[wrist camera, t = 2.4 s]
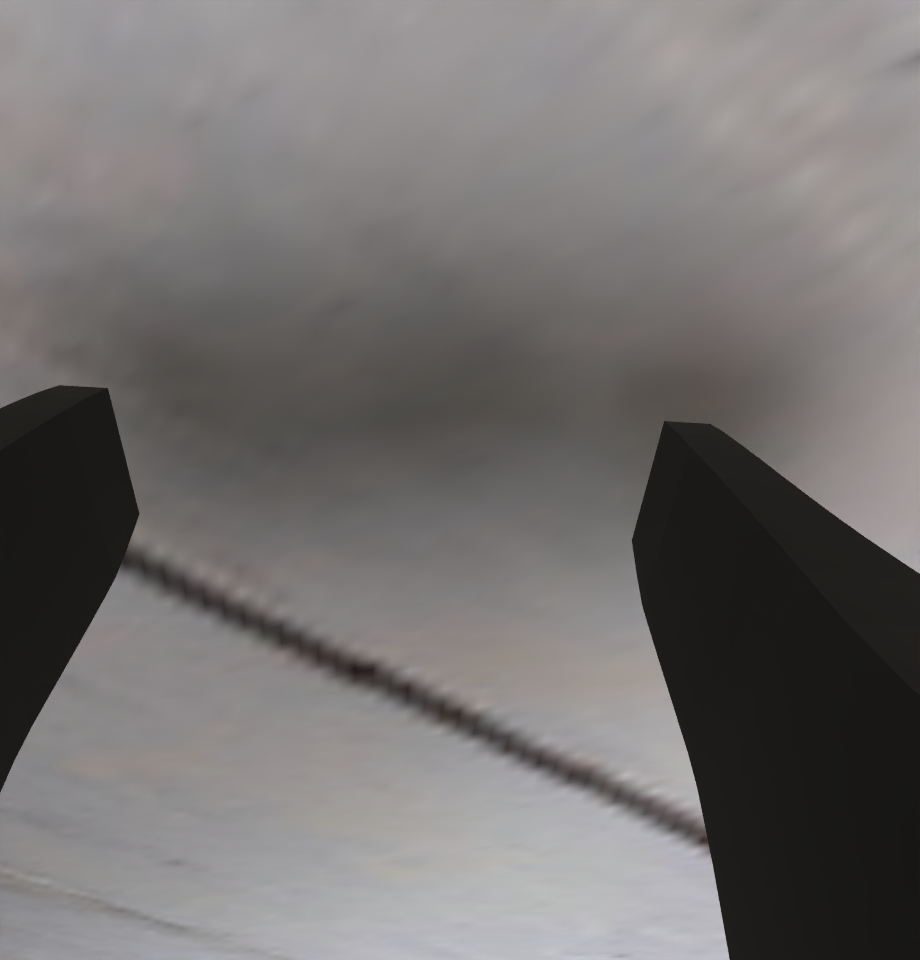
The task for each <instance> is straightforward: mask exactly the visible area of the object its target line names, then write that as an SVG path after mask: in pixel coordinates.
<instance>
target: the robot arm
mask: <svg viewBox="0 0 920 960" xmlns="http://www.w3.org/2000/svg"><path fill="white" fill-rule="evenodd" d="M138 516H139V511H138V507H137V503H136V499H135V495H134V491H133V487H132V483H131V479H130V475H129V471H128V467H127V463H126V459H125V455H124V451H123V447H122V443H121V439H120V435H119V431H118V427H117V423H116V419H115V415H114V411H113V407H112V403H111V399H110V395H109V391H108V388H95V387H78V386H61V385H59V386H56V387H53V388H50V389H47V390H44V391H41V392H38V393H36V394H33V395H31V396H28V397H26V398H23V399H21V400H18V401H16V402H14V403H11V404H9V405H7V406H5V407H2V408H0V792H1V790H2V787H3V785H4V783H5V781H6V778H7V776H8V774H9V771H10V769H11V767H12V765H13V762H14V760H15V758H16V756H17V754H18V752H19V750H20V748H21V746H22V745H23V743H24V741H25V739H26V737H27V735H28V733H29V731H30V729H31V727H32V725H33V723H34V722H35V720H36V718H37V716H38V714H39V713H40V711H41V709H42V707H43V706H44V704H45V702H46V700H47V699H48V697H49V695H50V693H51V692H52V690H53V688H54V686H55V685H56V683H57V681H58V679H59V678H60V676H61V674H62V672H63V671H64V669H65V667H66V665H67V664H68V662H69V660H70V658H71V657H72V655H73V653H74V651H75V650H76V648H77V646H78V644H79V643H80V641H81V639H82V637H83V636H84V634H85V632H86V630H87V628H88V627H89V625H90V623H91V621H92V619H93V618H94V616H95V614H96V612H97V610H98V609H99V607H100V605H101V603H102V602H103V600H104V598H105V596H106V594H107V592H108V591H109V589H110V587H111V585H112V583H113V581H114V579H115V577H116V575H117V572H118V570H119V567H120V565H121V562H122V560H123V557H124V555H125V552H126V550H127V547H128V544H129V542H130V539H131V536H132V533H133V530H134V528H135V525H136V522H137V519H138ZM632 544H633V551H634V558H635V565H636V572H637V578H638V584H639V589H640V595H641V601H642V606H643V609H644V612H645V616H646V619H647V623H648V626H649V629H650V633H651V636H652V639H653V642H654V646H655V649H656V652H657V655H658V659H659V662H660V665H661V668H662V671H663V675H664V678H665V681H666V684H667V687H668V691H669V694H670V697H671V700H672V703H673V706H674V710H675V713H676V716H677V719H678V722H679V726H680V729H681V732H682V735H683V738H684V742H685V745H686V748H687V751H688V755H689V758H690V762H691V766H692V770H693V773H694V777H695V781H696V785H697V789H698V793H699V798H700V803H701V808H702V813H703V818H704V823H705V828H706V833H707V838H708V843H709V848H710V853H711V858H712V863H713V868H714V873H715V879H716V885H717V890H718V896H719V901H720V907H721V913H722V918H723V924H724V929H725V935H726V941H727V946H728V952H729V958H730V960H920V574H919V573H918V572H916V571H915V570H913V569H911V568H910V567H908V566H907V565H905V564H904V563H903V562H901V561H900V560H898V559H897V558H895V557H894V556H892V555H891V554H889V553H888V552H886V551H885V550H883V549H882V548H880V547H879V546H877V545H876V544H874V543H873V542H871V541H870V540H868V539H867V538H865V537H864V536H863V535H861V534H860V533H858V532H857V531H856V530H854V529H853V528H851V527H850V526H848V525H847V524H846V523H844V522H843V521H841V520H840V519H839V518H837V517H836V516H835V515H833V514H832V513H830V512H829V511H828V510H826V509H825V508H824V507H822V506H821V505H820V504H818V503H817V502H816V501H814V500H813V499H812V498H810V497H809V496H808V495H806V494H805V493H804V492H802V491H801V490H800V489H798V488H797V487H796V486H794V485H793V484H792V483H791V482H789V481H788V480H787V479H785V478H784V477H783V476H781V475H780V474H779V473H777V472H776V471H775V470H774V469H772V468H771V467H770V466H768V465H767V464H766V463H764V462H763V461H762V460H761V459H759V458H758V457H757V456H755V455H754V454H753V453H751V452H750V451H749V450H747V449H746V448H745V447H743V446H742V445H741V444H739V443H738V442H737V441H735V440H734V439H732V438H731V437H730V436H728V435H727V434H725V433H724V432H722V431H721V430H719V429H718V428H716V427H714V426H713V425H711V424H700V423H684V422H667V421H664V424H663V428H662V432H661V435H660V439H659V443H658V446H657V450H656V454H655V458H654V461H653V465H652V469H651V472H650V476H649V480H648V483H647V487H646V491H645V494H644V498H643V502H642V505H641V509H640V513H639V516H638V520H637V524H636V527H635V531H634V535H633V538H632Z"/></svg>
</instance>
